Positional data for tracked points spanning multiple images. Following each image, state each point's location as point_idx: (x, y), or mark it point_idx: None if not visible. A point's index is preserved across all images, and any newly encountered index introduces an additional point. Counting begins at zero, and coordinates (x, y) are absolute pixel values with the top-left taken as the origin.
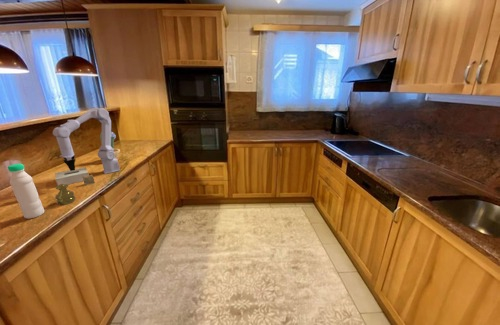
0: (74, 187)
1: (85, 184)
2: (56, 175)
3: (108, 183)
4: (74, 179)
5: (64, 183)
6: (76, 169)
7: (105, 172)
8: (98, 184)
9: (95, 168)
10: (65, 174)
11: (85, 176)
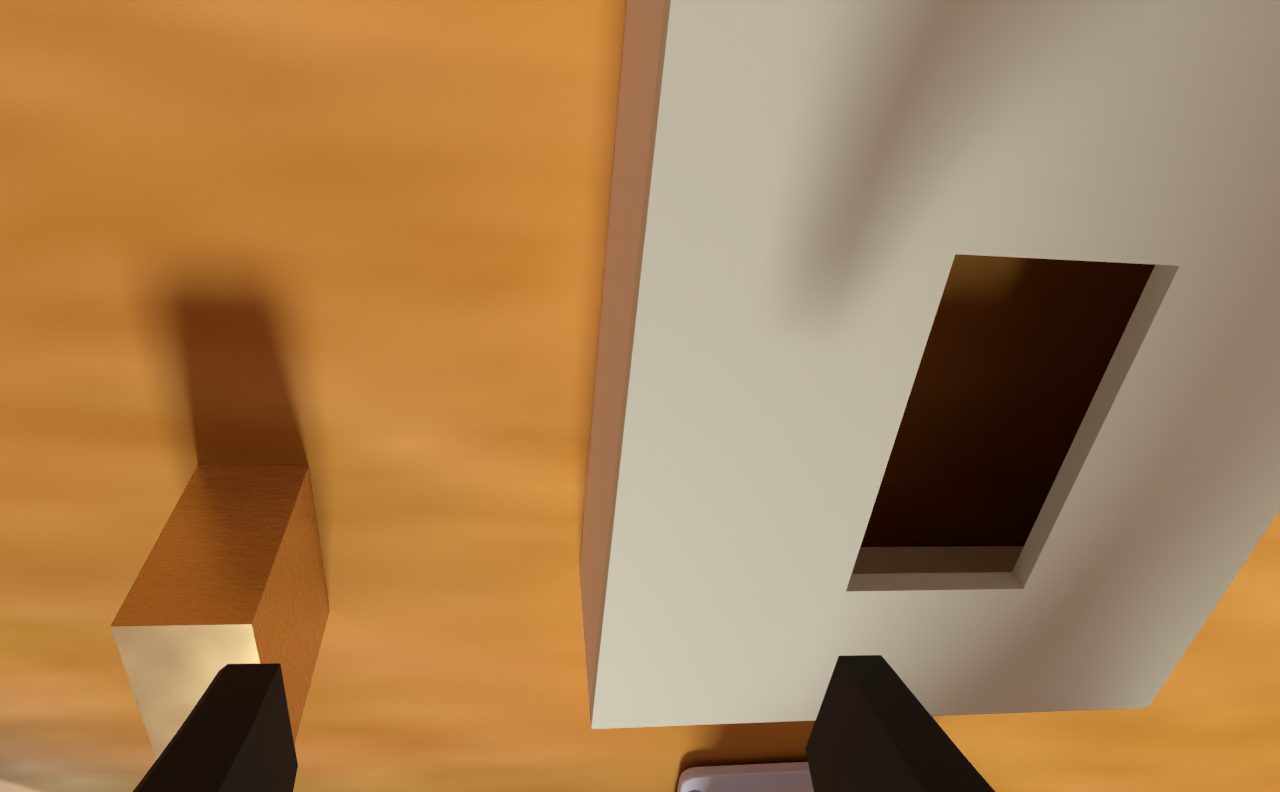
0: (202, 266)
1: (194, 490)
2: (1214, 15)
3: (25, 764)
4: (605, 380)
5: (625, 106)
6: (1181, 558)
7: (732, 787)
8: (79, 650)
9: (1219, 683)
10: None
11: None
